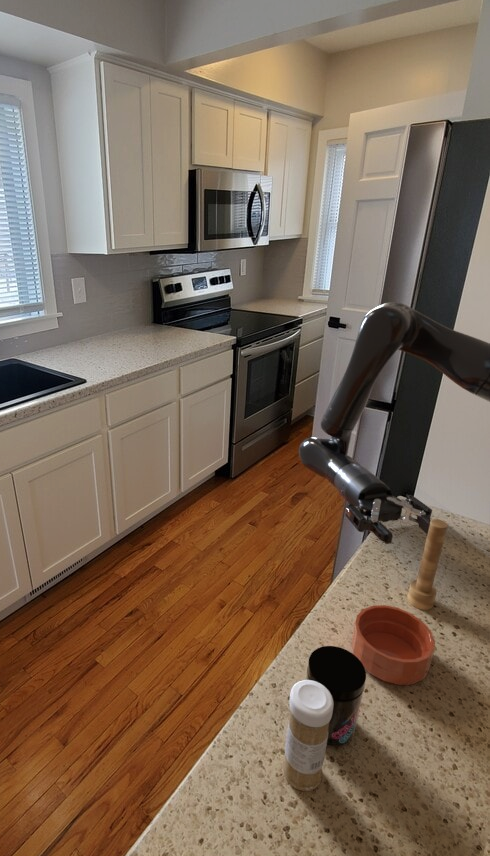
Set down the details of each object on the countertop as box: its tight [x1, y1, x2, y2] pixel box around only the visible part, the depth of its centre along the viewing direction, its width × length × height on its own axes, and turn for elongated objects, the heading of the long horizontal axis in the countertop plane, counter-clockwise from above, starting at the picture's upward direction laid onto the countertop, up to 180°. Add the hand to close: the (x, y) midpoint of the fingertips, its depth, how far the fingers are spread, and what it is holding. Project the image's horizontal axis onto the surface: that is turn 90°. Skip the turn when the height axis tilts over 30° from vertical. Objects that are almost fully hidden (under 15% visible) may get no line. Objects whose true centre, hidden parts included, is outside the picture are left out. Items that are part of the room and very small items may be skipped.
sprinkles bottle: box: [282, 679, 333, 792], centre depth 55 cm, size 5×5×14 cm
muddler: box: [406, 518, 449, 611], centre depth 80 cm, size 4×4×16 cm
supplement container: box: [306, 645, 367, 748], centre depth 61 cm, size 7×7×10 cm
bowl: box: [350, 604, 436, 686], centre depth 72 cm, size 11×11×5 cm
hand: (412, 536), depth 83 cm, fingers open, 8 cm apart
